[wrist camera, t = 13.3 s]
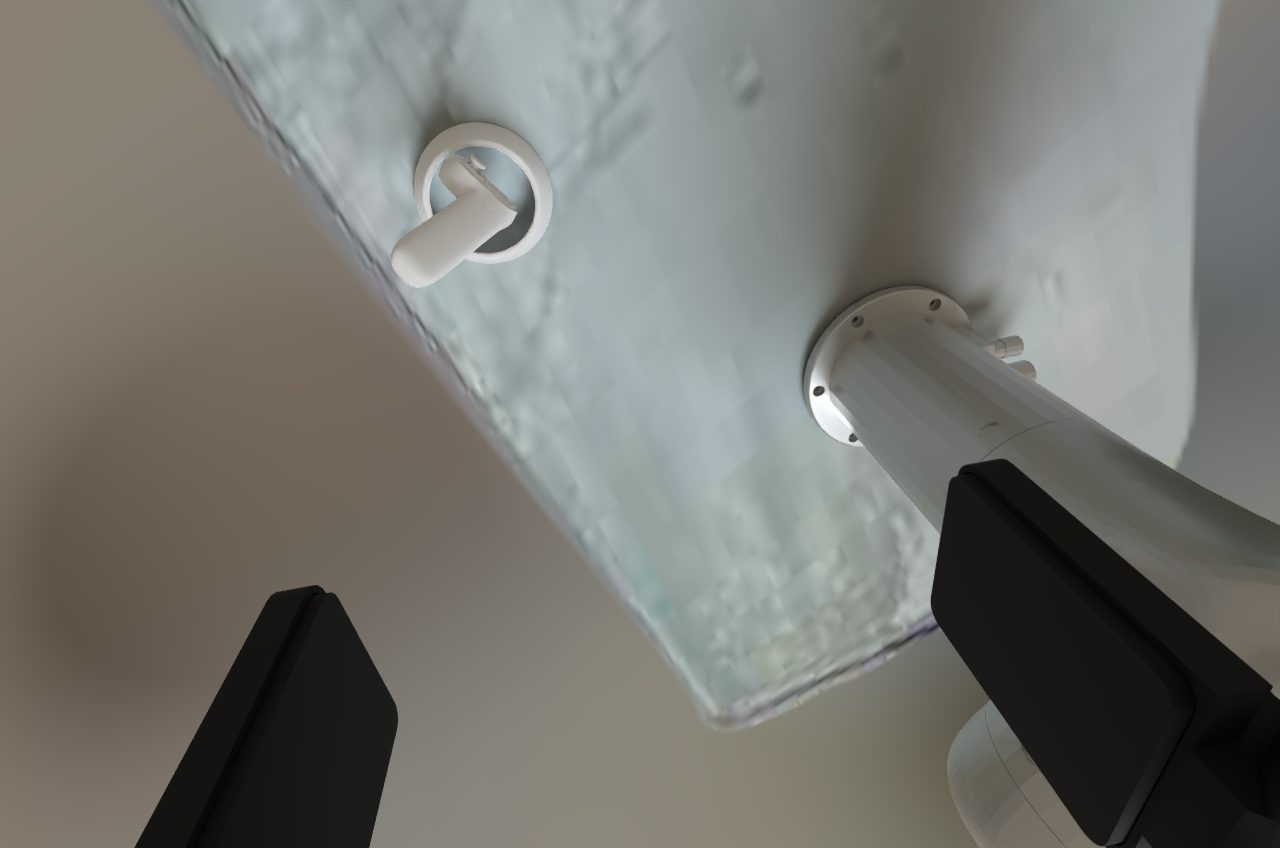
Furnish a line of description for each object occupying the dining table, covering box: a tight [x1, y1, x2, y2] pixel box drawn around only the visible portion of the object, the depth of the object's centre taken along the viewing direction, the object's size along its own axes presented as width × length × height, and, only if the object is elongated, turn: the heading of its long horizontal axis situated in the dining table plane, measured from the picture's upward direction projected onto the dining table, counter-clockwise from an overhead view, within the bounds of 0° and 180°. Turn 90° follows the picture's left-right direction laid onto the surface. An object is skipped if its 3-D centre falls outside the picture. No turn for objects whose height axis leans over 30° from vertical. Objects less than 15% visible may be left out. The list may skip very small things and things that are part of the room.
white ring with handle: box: [391, 122, 553, 288], centre depth 32 cm, size 8×12×7 cm
